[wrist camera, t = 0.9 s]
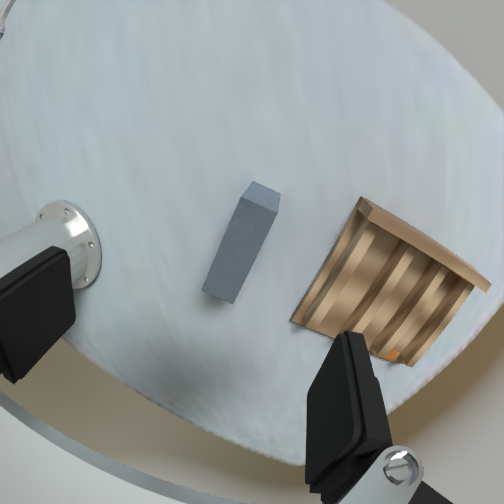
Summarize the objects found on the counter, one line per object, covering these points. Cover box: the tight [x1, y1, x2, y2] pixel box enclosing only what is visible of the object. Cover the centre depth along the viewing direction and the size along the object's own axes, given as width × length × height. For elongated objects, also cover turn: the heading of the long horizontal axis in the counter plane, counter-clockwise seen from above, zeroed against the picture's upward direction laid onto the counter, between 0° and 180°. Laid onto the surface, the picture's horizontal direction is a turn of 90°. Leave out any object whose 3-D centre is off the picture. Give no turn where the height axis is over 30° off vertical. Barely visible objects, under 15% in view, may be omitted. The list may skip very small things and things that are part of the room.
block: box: [202, 181, 280, 304], centre depth 28 cm, size 9×3×8 cm, turn 156°
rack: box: [292, 197, 491, 367], centre depth 30 cm, size 16×18×5 cm
